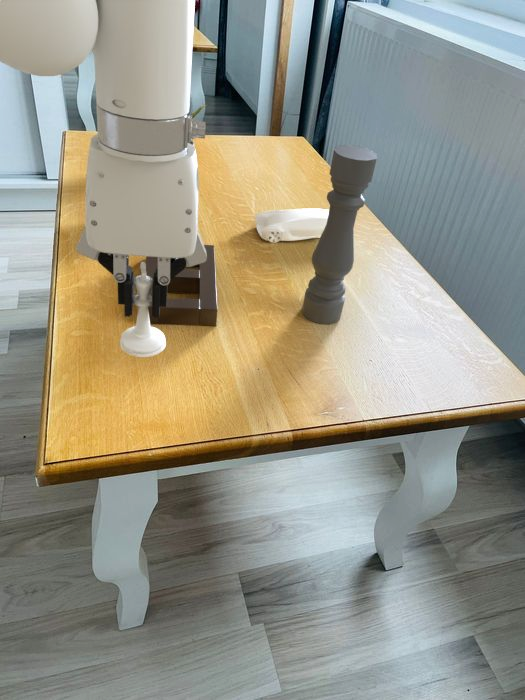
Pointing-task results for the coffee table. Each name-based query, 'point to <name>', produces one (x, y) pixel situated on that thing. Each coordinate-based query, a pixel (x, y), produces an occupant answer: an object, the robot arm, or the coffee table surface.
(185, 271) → the socket block
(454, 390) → the coffee table surface
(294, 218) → the toy car
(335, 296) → the candle holder
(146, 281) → the chess piece
